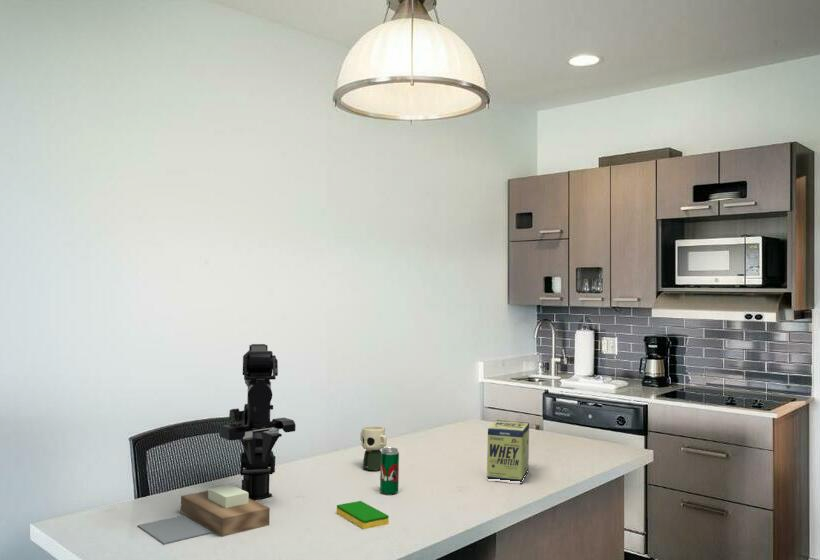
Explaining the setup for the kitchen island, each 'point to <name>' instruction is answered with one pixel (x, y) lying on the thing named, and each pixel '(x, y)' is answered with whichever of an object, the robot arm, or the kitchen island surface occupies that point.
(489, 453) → the protein box
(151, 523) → the slate mat
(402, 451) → the kitchen island surface
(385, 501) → the kitchen island surface
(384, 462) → the soda can
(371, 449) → the character mug
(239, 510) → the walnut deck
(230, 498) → the sage tile
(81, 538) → the kitchen island surface
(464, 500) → the kitchen island surface
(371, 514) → the dish sponge
